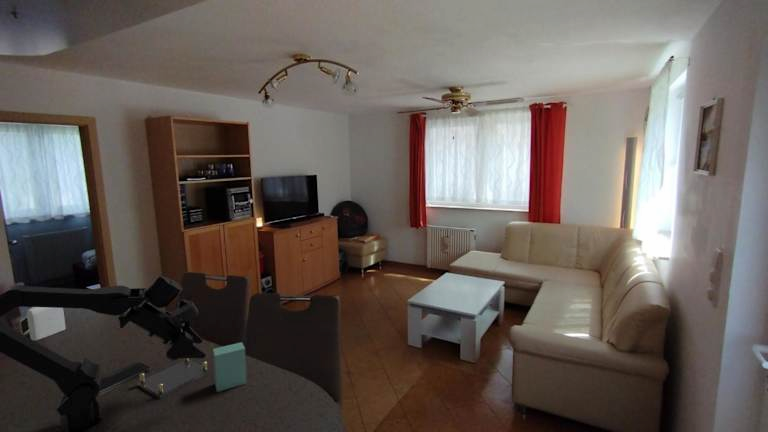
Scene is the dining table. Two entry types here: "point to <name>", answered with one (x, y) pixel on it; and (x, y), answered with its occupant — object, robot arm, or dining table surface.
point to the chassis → (173, 378)
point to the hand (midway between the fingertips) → (203, 349)
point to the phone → (122, 377)
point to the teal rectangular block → (229, 366)
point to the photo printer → (45, 322)
